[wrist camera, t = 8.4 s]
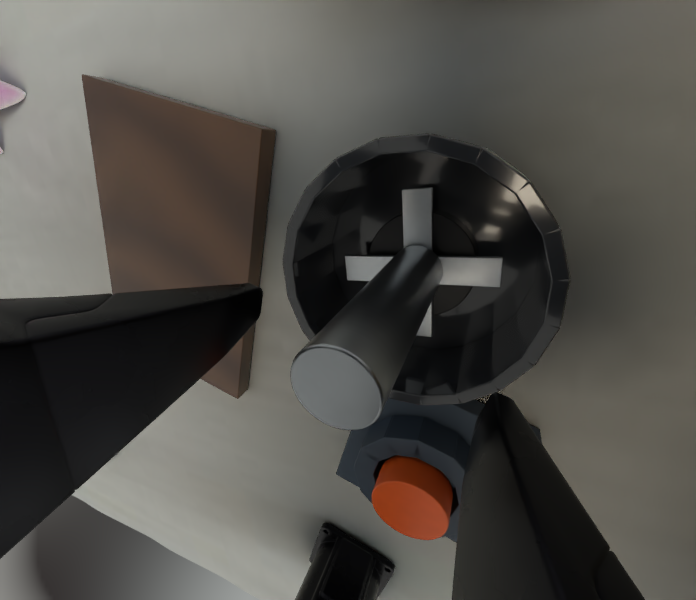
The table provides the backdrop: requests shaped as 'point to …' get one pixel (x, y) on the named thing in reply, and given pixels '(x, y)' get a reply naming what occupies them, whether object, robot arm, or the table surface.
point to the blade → (389, 311)
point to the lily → (9, 96)
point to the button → (413, 498)
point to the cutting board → (180, 199)
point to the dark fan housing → (491, 239)
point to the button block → (415, 445)
